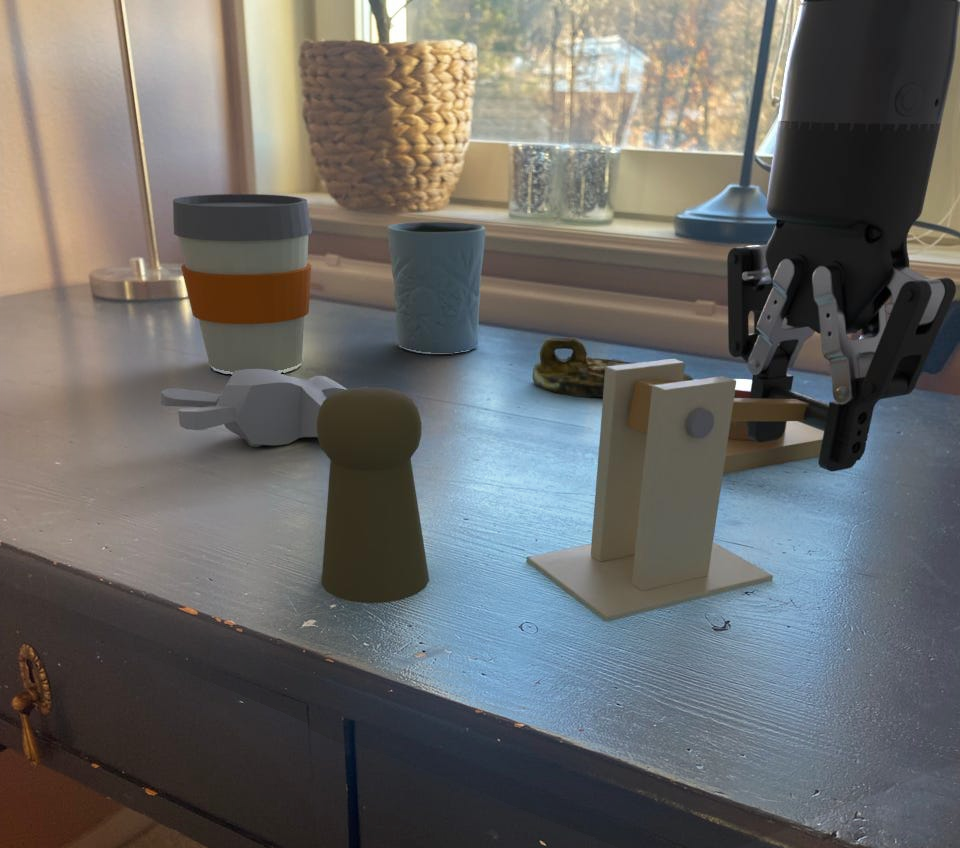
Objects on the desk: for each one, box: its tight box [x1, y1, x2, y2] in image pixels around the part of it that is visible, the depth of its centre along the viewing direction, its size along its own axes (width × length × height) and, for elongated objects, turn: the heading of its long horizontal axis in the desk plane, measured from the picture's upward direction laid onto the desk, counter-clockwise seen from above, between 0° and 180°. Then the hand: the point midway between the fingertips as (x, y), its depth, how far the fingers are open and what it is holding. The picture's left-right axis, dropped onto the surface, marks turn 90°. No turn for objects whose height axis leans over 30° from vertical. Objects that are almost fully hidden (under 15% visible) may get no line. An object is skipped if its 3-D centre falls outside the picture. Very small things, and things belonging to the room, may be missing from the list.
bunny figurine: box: [160, 369, 348, 448], centre depth 75 cm, size 10×5×15 cm
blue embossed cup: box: [387, 221, 487, 353], centre depth 102 cm, size 10×10×12 cm
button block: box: [723, 421, 824, 475], centre depth 73 cm, size 12×10×4 cm
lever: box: [627, 380, 829, 435], centre depth 52 cm, size 12×5×2 cm, turn 118°
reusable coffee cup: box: [172, 193, 313, 372], centre depth 93 cm, size 13×12×15 cm
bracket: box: [525, 358, 774, 623], centre depth 51 cm, size 11×8×12 cm
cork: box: [317, 386, 430, 604], centre depth 50 cm, size 6×6×11 cm
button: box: [732, 378, 752, 398], centre depth 72 cm, size 4×4×2 cm
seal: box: [532, 336, 694, 398], centre depth 90 cm, size 9×5×15 cm
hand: (799, 451), depth 55 cm, fingers closed on lever, 5 cm apart
